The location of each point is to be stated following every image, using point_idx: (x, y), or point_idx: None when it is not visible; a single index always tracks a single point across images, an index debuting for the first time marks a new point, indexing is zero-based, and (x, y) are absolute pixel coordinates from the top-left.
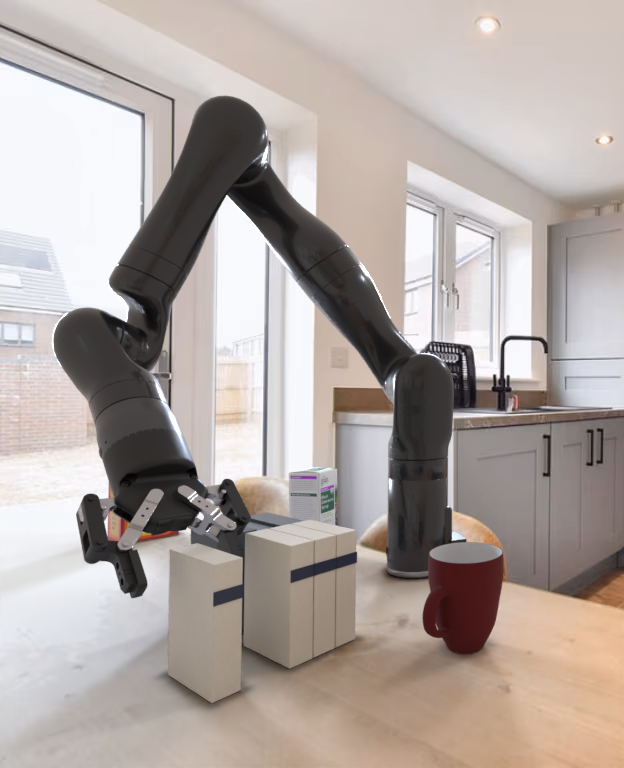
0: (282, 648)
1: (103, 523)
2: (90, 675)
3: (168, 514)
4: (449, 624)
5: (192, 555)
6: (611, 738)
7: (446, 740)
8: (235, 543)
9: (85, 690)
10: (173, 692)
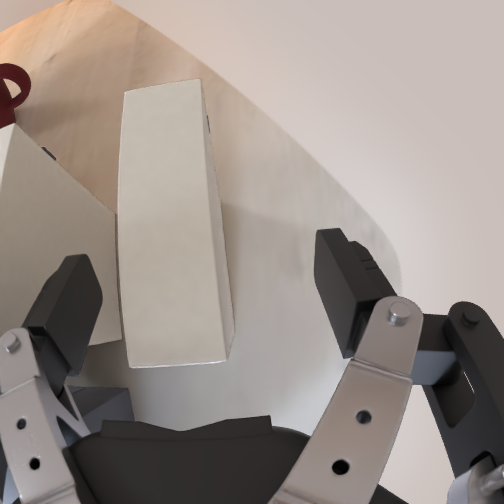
0: (106, 223)
1: (490, 388)
2: (312, 410)
3: (208, 460)
4: (7, 97)
5: (201, 201)
6: (81, 3)
7: (126, 32)
8: (45, 291)
9: (327, 367)
10: (244, 270)
